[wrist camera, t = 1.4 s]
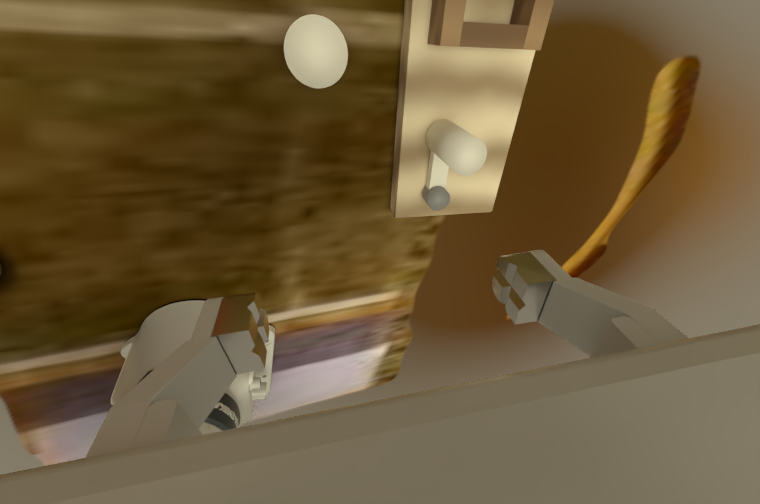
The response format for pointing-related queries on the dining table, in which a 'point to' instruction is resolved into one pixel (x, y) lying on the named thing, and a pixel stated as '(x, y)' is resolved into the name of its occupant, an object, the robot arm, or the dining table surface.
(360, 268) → the dining table surface
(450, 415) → the robot arm
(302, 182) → the dining table surface
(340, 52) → the loose leg
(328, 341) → the dining table surface
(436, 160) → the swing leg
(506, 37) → the wooden board with socket
